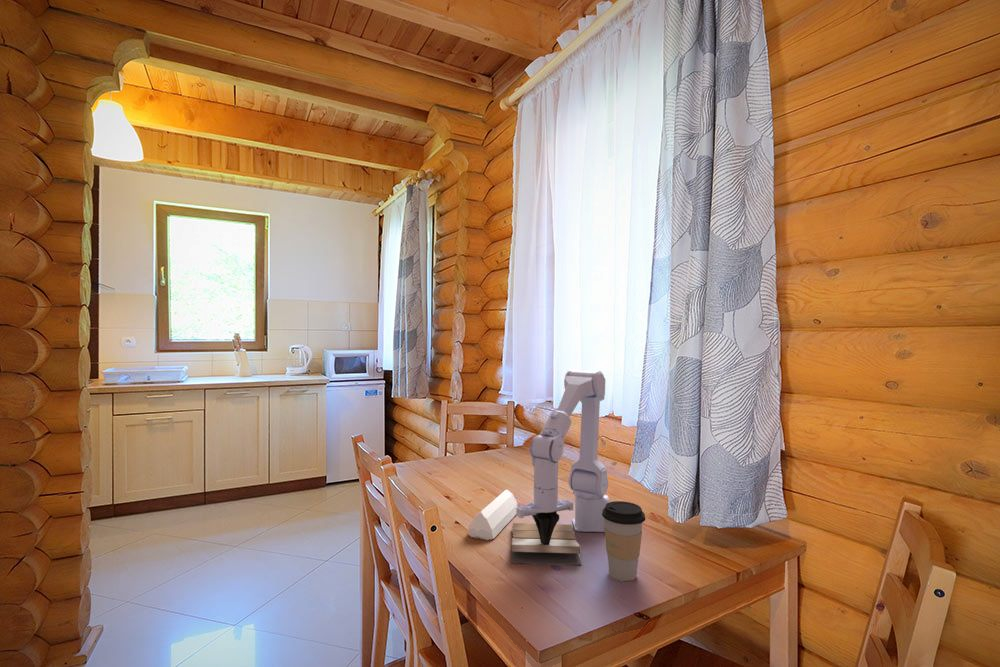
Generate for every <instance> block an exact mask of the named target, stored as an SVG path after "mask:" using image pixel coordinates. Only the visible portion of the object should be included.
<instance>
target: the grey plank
mask: <svg viewBox="0 0 1000 667" xmlns="http://www.w3.org/2000/svg"><path fill="white" fill-rule="evenodd" d="M511 547H512V552H545V553H579V554H581V545H580V543H578V542H577V540H576V539H575V540H555V539H550V543H549V545H543V544H542V543H541V541H540V539H518V538H512V537H511Z"/></svg>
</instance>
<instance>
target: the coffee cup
mask: <svg viewBox="0 0 1000 667" xmlns="http://www.w3.org/2000/svg"><path fill="white" fill-rule="evenodd" d="M602 516H603V517H604V523H605V525H604V531H605V532H604V539H605V550H606V554H607V562H608V564H607V565H608V573H609V575H610V577H612V578H613V579H615V580H617V581H621V582H630V581H634V580H635V579H636V578H637V573H638V566H639V557H640V555H641V554H640V552H641V545H642V538H643V536H642V535H643V530H642V529H643V528H642V527H643V523H644V522H646V514H645V513H644V511H643V508H642V507H641V506H640V505H638V504H637V503H633V502H629V501H621V500H615V501H609V503H607V504H606V506H605V508H604V509H603V511H602Z"/></svg>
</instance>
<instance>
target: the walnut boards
mask: <svg viewBox="0 0 1000 667" xmlns="http://www.w3.org/2000/svg"><path fill="white" fill-rule="evenodd" d="M512 526H513V537H512V536H511V539H512V538H518V539H540V536H539V532H538V528H537V525H536V523H525V522H524V523H522V522H521V523H520V522H513V523H512ZM551 539H555V540H576V535H575V532H574V527H573V525H572V524H561V523H559V524H558V523H557V524H556V526H555V528H554V530H553V533H552V536H551Z"/></svg>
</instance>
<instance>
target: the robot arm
mask: <svg viewBox="0 0 1000 667" xmlns="http://www.w3.org/2000/svg"><path fill="white" fill-rule="evenodd" d="M563 382H564V383H563V385H564V392H563V395H562V396H561V399H560V401H559V405H558V407H557V410H555V411H554V410H553V411H552V412H550V414H549V416H548V418H547V420H546V422H545V424H544V425H543V427H542V430H541V431H540V433H539V434H537V435H536V436H534V437H533V438H532V439H531V442H530V445H529V446H530V447H529V448H528V449H529V451H528V452H529V456H530V458H531V464H532V466H533V502H531V503H528V504H524V505H522V506H518V507H517V513H516V515H515V516H517V517H518V518H520V519H524V518H525V517H529V516H532V518H533V520H534V524H536V525H537V528H538V532H539V536H540V541H541V543H542V544H543V545H549V543H550V539H551V536H552V533H553V530H554V528H555V526H556V524H558V522H559V521H560V514H558V512H563V511H571V512H572V511H574V518H571V519H572V520H571V521H572V524H573V525H572V526H573V529H574V531H575V532H586V533H588V532H591V533H605V531H604V525H605V523H604V517H603V516H602V511H603V509H604V508H605V506H606V504H607V503H609V502H610V498H609V496H608V494H606V493H607V491H608V489H609V488H608V487H609V479H608V470H607V469H608V468H607V467H606V466H605V465H604V463H602V462H601V461H600V460H598V457H599V456H598V454H599V453H598V452H599V448H598V447H599V430H600V429H599V427H600V404H601V401H605V395H606V378H605V375H604V373H603V372H602V371H600V370H596V371H595V370H581V369H572V368H571V369H568V370H567V372H566V373H565V375H564V381H563ZM579 403H581V417H580V439H579V440H580V441H579V459H577V460H576V461H574V462H573V463H572V464H571V467H570V472H569V476H568V487H569V489H570V490H571V491H572V494H573V495H574V496H575V497H574V502H573V501H572V500H570V499H566V500H563V499H562V500H559V497H558V496H559V494H558V493H559V490H558V488H559V462H560V460H561V458H562V456H563V453H564V446H565V438H566V436H567V434H568V432H569V429H570V427H571V426H572V420H571V416H572V413H574V410H575V409H576V407H577V406H578V404H579ZM574 506H575V507H574Z"/></svg>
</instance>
